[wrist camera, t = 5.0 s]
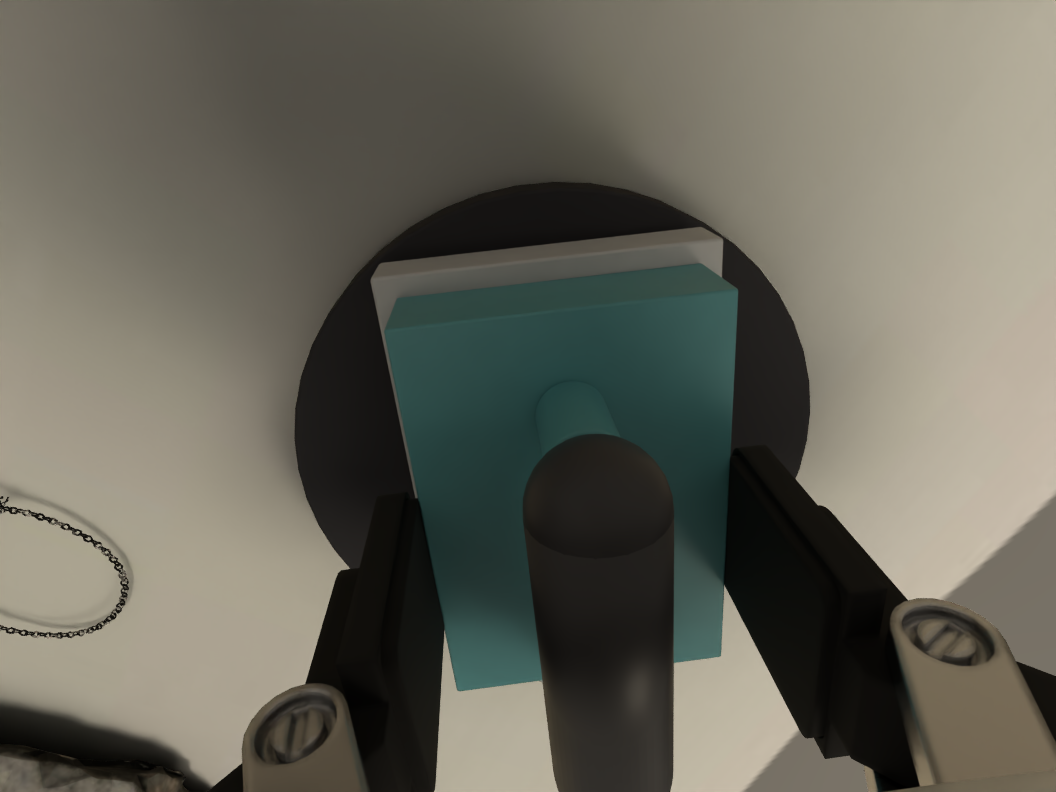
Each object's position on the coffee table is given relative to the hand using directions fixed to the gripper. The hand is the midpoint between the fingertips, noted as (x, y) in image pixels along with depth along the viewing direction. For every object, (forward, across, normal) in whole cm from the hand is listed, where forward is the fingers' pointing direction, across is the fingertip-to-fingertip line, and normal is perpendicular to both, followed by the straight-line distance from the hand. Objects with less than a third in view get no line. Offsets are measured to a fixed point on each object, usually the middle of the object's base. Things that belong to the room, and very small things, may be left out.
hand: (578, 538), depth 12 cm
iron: (+3, 0, +1) cm, 3 cm away
